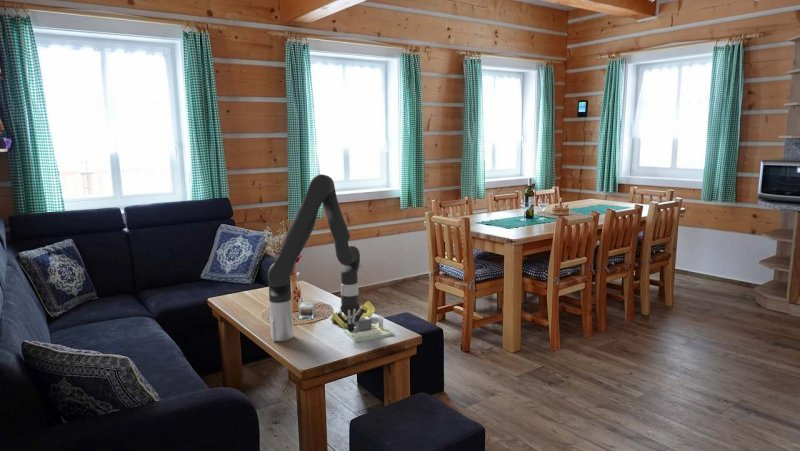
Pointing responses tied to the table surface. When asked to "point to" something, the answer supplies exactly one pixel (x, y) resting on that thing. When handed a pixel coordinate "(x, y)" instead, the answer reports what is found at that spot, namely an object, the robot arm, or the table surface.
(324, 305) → the table surface
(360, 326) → the plug
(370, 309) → the plastic component
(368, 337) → the board
